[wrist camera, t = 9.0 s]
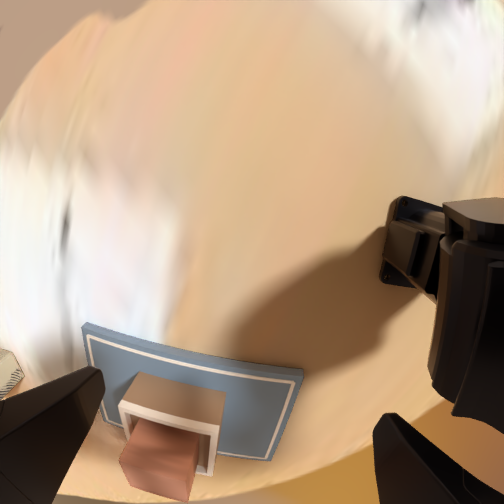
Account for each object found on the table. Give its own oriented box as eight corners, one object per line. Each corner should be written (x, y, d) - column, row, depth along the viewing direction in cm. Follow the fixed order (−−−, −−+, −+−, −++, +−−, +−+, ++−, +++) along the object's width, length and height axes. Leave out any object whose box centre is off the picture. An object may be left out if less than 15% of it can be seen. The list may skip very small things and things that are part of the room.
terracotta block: (199, 432, 18) (185, 481, 13) (198, 460, 19) (187, 502, 15) (140, 416, 18) (118, 460, 13) (146, 446, 20) (130, 485, 15)
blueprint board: (303, 369, 22) (309, 419, 16) (270, 454, 25) (269, 494, 20) (86, 322, 22) (51, 353, 16) (107, 416, 26) (87, 447, 20)
